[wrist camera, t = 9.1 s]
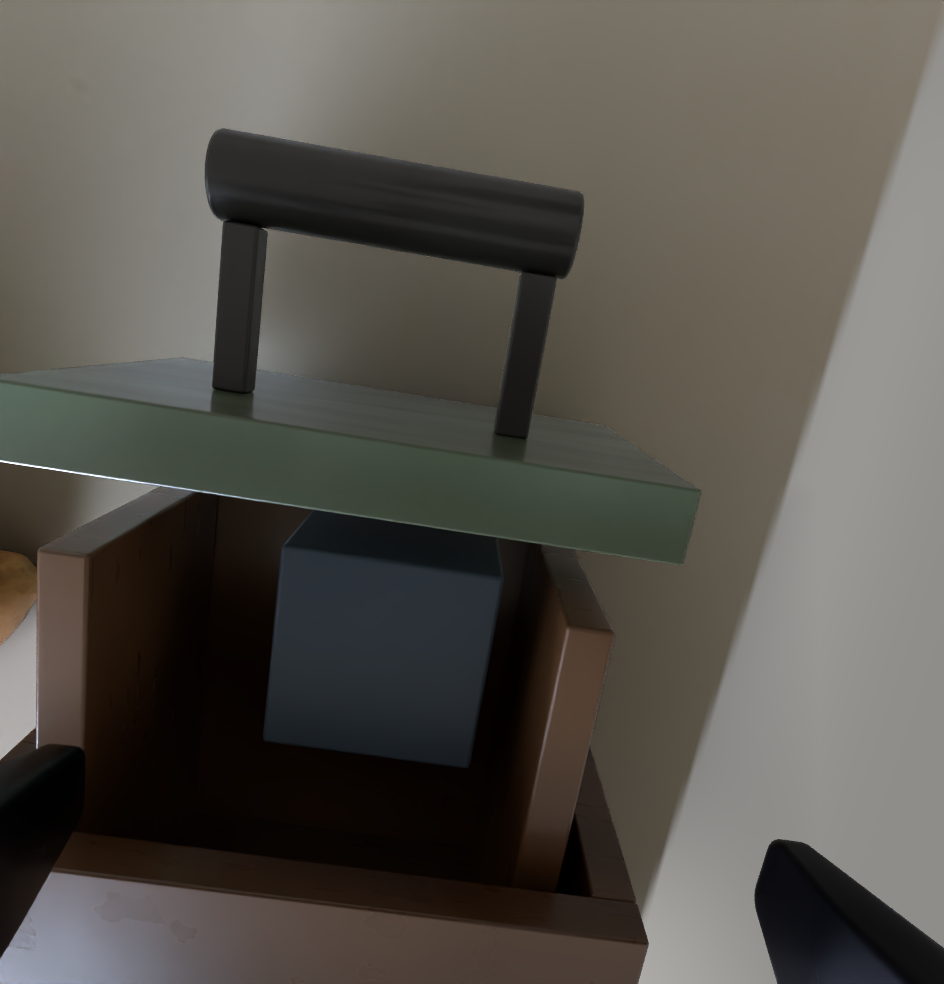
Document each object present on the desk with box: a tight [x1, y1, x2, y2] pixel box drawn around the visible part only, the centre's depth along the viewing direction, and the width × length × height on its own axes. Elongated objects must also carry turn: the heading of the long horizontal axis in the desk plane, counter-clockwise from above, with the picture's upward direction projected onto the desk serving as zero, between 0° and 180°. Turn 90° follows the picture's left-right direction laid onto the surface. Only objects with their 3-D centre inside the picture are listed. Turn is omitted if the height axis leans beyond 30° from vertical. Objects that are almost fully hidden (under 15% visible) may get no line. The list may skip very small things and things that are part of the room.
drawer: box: [0, 128, 701, 893], centre depth 14 cm, size 17×10×7 cm, turn 171°
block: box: [263, 510, 504, 769], centre depth 14 cm, size 4×4×4 cm
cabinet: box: [0, 728, 649, 984], centre depth 16 cm, size 14×12×9 cm
